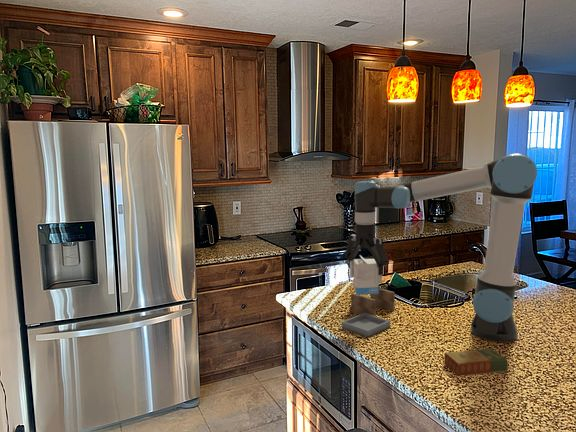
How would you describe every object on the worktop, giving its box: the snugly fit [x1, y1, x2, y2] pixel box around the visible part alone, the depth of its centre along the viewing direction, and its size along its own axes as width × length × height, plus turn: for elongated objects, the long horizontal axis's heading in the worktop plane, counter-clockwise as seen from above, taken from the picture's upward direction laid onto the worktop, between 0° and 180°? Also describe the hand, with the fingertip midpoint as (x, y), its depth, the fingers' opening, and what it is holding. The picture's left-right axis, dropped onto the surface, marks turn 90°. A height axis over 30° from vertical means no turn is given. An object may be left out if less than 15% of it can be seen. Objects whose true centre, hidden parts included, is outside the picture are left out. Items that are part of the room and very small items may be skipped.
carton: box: [443, 347, 509, 377], centre depth 131 cm, size 8×16×4 cm, turn 99°
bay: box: [348, 288, 396, 317], centre depth 181 cm, size 13×14×8 cm
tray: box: [341, 313, 391, 338], centre depth 164 cm, size 13×14×2 cm
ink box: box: [353, 254, 380, 296], centre depth 161 cm, size 9×8×13 cm
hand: (365, 280), depth 161 cm, fingers closed on ink box, 11 cm apart
